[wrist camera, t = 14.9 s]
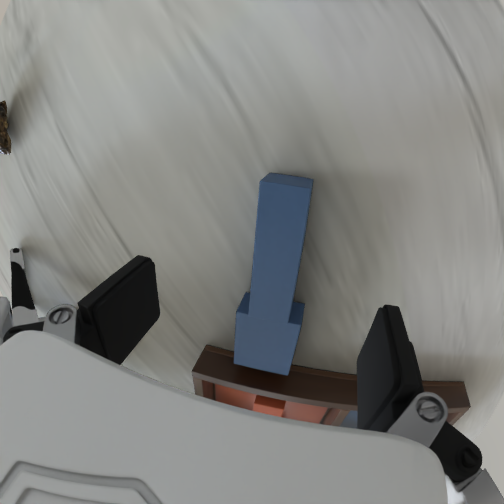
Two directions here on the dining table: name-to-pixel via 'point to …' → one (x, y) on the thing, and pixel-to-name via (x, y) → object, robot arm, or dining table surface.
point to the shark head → (4, 130)
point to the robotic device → (17, 298)
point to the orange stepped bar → (269, 405)
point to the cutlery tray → (300, 390)
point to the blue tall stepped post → (274, 277)
